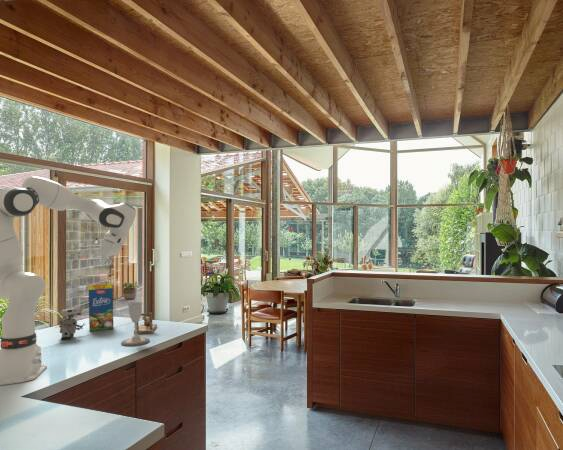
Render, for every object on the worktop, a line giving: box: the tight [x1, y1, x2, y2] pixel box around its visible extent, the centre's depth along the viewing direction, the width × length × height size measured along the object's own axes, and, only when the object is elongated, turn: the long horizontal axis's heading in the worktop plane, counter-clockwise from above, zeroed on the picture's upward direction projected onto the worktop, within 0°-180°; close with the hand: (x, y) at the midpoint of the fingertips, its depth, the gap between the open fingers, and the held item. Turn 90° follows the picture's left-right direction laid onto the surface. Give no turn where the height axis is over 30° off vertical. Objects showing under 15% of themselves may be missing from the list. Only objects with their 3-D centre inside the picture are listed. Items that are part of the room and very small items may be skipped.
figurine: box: [58, 306, 85, 341], centre depth 222 cm, size 9×12×15 cm
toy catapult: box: [133, 312, 158, 335], centre depth 234 cm, size 16×9×10 cm, turn 7°
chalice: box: [127, 301, 143, 342], centre depth 209 cm, size 7×7×18 cm
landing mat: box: [120, 337, 151, 347], centre depth 208 cm, size 13×13×1 cm
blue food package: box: [88, 282, 114, 332], centre depth 239 cm, size 6×12×25 cm, turn 117°
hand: (105, 263), depth 204 cm, fingers open, 8 cm apart
